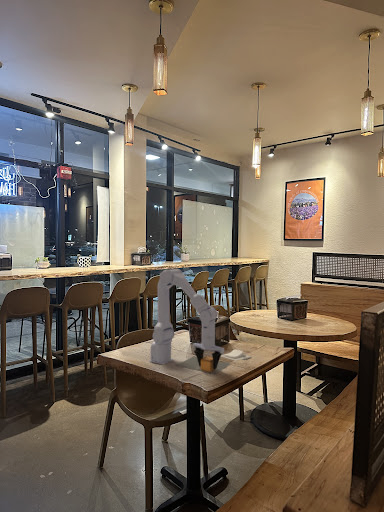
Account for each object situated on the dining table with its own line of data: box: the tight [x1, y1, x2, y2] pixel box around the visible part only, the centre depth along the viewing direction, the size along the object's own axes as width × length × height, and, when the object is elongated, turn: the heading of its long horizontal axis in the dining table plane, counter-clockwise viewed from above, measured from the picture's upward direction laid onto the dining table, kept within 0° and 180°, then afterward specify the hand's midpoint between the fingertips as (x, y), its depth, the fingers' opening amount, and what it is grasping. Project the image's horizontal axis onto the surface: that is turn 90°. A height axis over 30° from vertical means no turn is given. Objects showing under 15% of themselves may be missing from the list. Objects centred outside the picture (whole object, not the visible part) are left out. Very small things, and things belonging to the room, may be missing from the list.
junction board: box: [175, 355, 231, 375], centre depth 156 cm, size 20×16×1 cm
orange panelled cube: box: [201, 356, 214, 372], centre depth 150 cm, size 5×5×4 cm
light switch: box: [220, 349, 252, 362], centre depth 170 cm, size 11×4×13 cm
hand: (207, 366), depth 150 cm, fingers open, 6 cm apart
